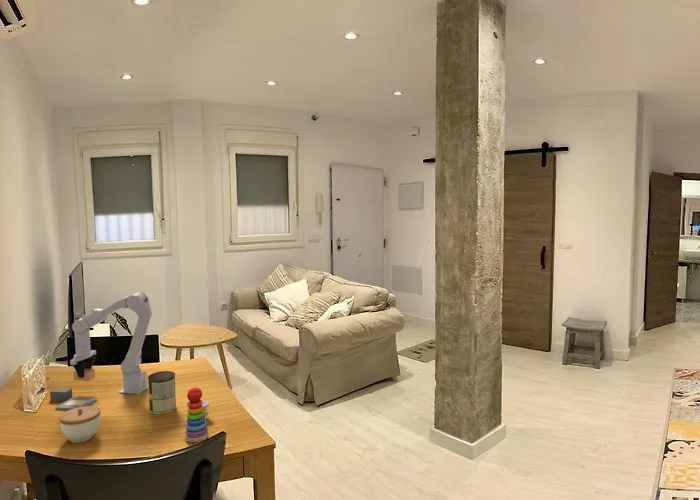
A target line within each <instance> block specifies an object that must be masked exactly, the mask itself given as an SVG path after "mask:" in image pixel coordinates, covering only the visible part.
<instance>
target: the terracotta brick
mask: <svg viewBox="0 0 700 500" xmlns="http://www.w3.org/2000/svg"><path fill="white" fill-rule="evenodd" d="M95 378H96V373H95V368H92V369H85V370H84V377H83V378H79V377H78V375H77V372H76V370H75V369H74V371H73V381H79V382H80V381H82V382H90V381H92V380H94V379H95Z"/></svg>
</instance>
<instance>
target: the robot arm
mask: <svg viewBox="0 0 700 500" xmlns="http://www.w3.org/2000/svg"><path fill="white" fill-rule="evenodd" d="M120 309H130V311H131V310H132V312H134V313H135V314H136V315H137V317H138V318H137V322H136V325H135V328H134V332H133V334H132V338H131V342H130V345H129V349H128V352H127V354H126V355H125V358H124V360H123V361H122V362H121V364H120V369H121V371H122V386H123V387H122V388H123V389H121V390H120V391H118V393H120V394H135V395H136V394H137V395H138V394H141V393H142V392H144V391H145V390H147V389H149V385H148V373H147V371H145V370H142V369H141V367H140V365H141V363H142V348H143V344H144V342H145V339H146V335H147V332H148V330H149V329H148V328H149V325H150V321H151V318H152V314H153V312H152V308H151V305H150V300H149V297H148V296H147V295H146V293H144V292H143V291H135V292H134V293H133V294H132V293H131V294H129V295H127V296H124V297H122V298H120V299H118V300H117V301H115V302H113V303H111V304H109V305H108V306H107V307H105V308H94V309H92V310H91V312H89V313H87V314H83V315H81V317H80V318H78V319H76V320H75V321H73V323H72V325H71V329H72V331H73V332H74V344H75V345H74V346H75V347H74V348H75V354H73V358H72V359H70V360H69V362H70V363H69V365H70V366H72V367H73V368H74V371H75V370H76V372H77V375H78V377H79V378H83V377H84V370H85V369H93V365H94V363H95V360H96V355H97V350H96V349H94V350H93V349H92V347H91V334H90V333H91V332H90V329H91V328H92V327H95V326H97V325H98V324H100V323H102V322H104V321H105V320H106V318H107V317H108V315H110V314H112V313H114V312H116V311H118V310H120ZM91 349H92V350H91Z"/></svg>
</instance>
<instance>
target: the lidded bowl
mask: <svg viewBox="0 0 700 500" xmlns="http://www.w3.org/2000/svg"><path fill="white" fill-rule="evenodd" d="M59 423H60V424H59V425H60V429H61V433H62V436H63V437H65V439H67V440H68V441H70V443H73V444H78V443H84V442H86V441H89V440H91V439H92V438H93V437H94V435H95V434H96V432H97V431H98V429H99V427H100V423H101V409H100V407H98V406H95V405H92V406H91V405H89V406H83V407H78V408H74V409H71V410H65V411H64V412H63V413H62V414H60V416H59Z"/></svg>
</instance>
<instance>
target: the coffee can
mask: <svg viewBox="0 0 700 500" xmlns="http://www.w3.org/2000/svg"><path fill="white" fill-rule="evenodd" d="M147 385H148V401H149V403H148V404H149V410H148V411H149V413H150V414H153V415H163V414H162V413H164V414H168V413H170V411H171V412H173V411H174V410H176V408H177V401H176V396H177V395H176V373H175V372H174V371H171V370H162V371H156V372H154V373H151V374H149V375H147ZM175 407H176V408H175ZM172 410H173V411H172ZM167 412H168V413H167Z"/></svg>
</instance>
